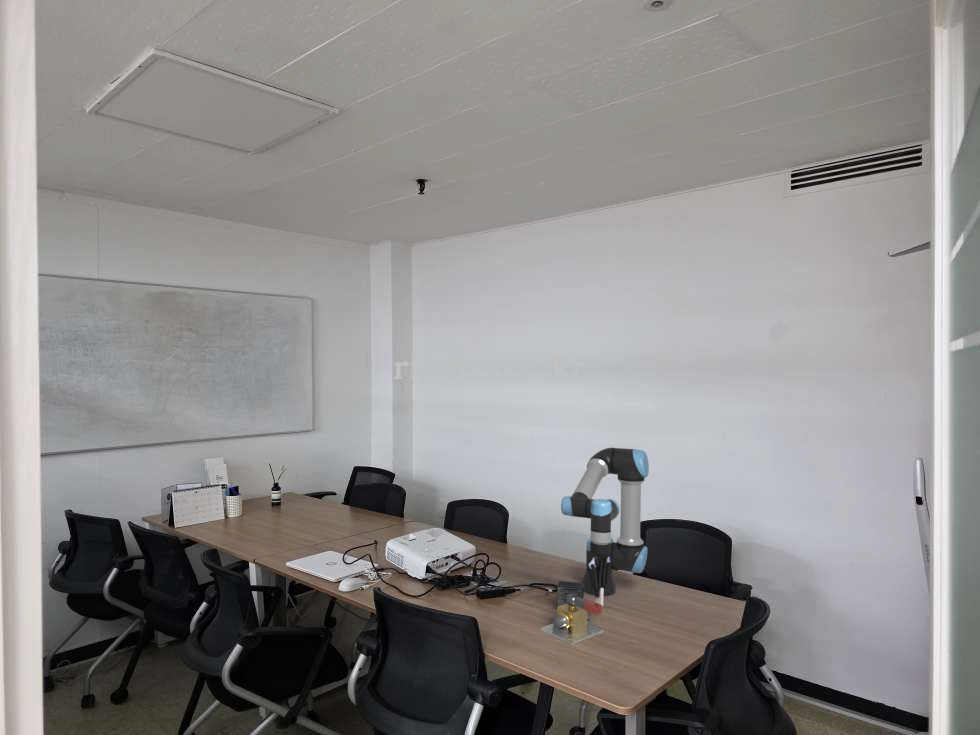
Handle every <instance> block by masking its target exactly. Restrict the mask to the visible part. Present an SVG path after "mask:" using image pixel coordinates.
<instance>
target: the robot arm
mask: <svg viewBox="0 0 980 735" xmlns="http://www.w3.org/2000/svg"><path fill="white" fill-rule="evenodd" d="M649 464H650V463H649V458H648V455H647V453H646V452H645V451H644V450H641V449H635V448H624V447H623V448H622V447H621V448H619V447H606V448H604V449H602V450H599V451H597V452H596V453H595V454H594V455H592V456H591V457H590V459H589V460H588V461H587V464H586V470H585V472H584V474H583V476H582V477H581V479H580V481H579V482H578V484H577V486H576V488H575V490H574V492H572V495H571V496H570V495H567V496H566V495H565V496H563V497H562V499H561V504H560V509H561V510H560V511H561V513H562V515H565V516H570V517H575V518H583V519H584V518H585V519H590V539H588V541H586V549H585V551H586V552H585V553H586V556H585V557H586V558H585V559H586V560H585V563H586V564H585V567H586V568H585V573H584V577H583V579H582V582H581V583H584V593H586V594H589V595H593V596H594V602H595V603H598V604H601V605H602V607H604V596H610V595H614V594H615V593H616V592H617V587H616V586H617V585H616V582H615V578H614V576H613V570H615V571H616V570H617V571H620V572H621V571H623V572H628V573H631V574H633V573H635V574H641V573H642V572H643V571H644V570H645V566H646V562H647V559H648V553H649V552H648V551H649V550H648V547H647V546H646V545H644V544H645V543H644V540H643V539H642V538H641V508H642V506H641V505H642V504H641V501H642V498H641V497H642V490H641V489H642V484H643V483H644V482H645V478H647V477H649V473H650V471H649V470H650V466H649ZM608 474H609V475H610V474H611V475H617V480H618V481H619V482H620V505H619V503H618V502H617V501H616V500H614V499H612V498H607V499H603V498H601V499H600V498H597V499H595V498H593V497H594V495H595V493H596V491H597V489H598V487H599V485H600V484H601V482H602V480H603V479H604V477H606V476H607V475H608ZM619 514H620V524H619V525H620V527H619V528H620V533H619V534H620V535H619V537H618V538H617V539H616V542H615V541H614V539H613V537H612V521H614V519H616V518H617V517H618V515H619Z"/></svg>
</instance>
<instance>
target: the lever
mask: <svg viewBox="0 0 980 735" xmlns="http://www.w3.org/2000/svg"><path fill="white" fill-rule="evenodd" d="M567 605H570V606H577V607H579V608H582V609H584V610H585V611H588V612H590V613H591V614H593V615H596V616H598V615H600V614H603V606H602V605H601V604H598V603H595V601H592V600H590V599H589V600H588V599H585V598H584V599H583V598H581V597H578V595H576V594H568V595H567Z"/></svg>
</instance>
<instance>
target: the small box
mask: <svg viewBox="0 0 980 735" xmlns="http://www.w3.org/2000/svg"><path fill="white" fill-rule="evenodd" d="M556 586H557V587H556V588H557V589H556V590H557V591H556V598H557V599H556V607H557V606H560V605H563V604H566V603H567V595H568V594H576V595H578V597H581V598H583V599H585V598H584V597H585V596H584V594H585V592H584V583H582V582H576V581H575V582H574V581H566V580H565V581H564V580H559V581H558V582H557V585H556Z"/></svg>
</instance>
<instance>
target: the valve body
mask: <svg viewBox="0 0 980 735" xmlns="http://www.w3.org/2000/svg"><path fill="white" fill-rule="evenodd" d="M556 612H557V613H556V617H554V618H553V619H552V623H549V624H547V625H545V626H542V627H540V628H539V631H541V632H544V633H546V634H548V635H549V636H552V637H554V638H556V639H559V640H560V641H563V642H565V643H567V644H569V645H572V646H573V645H575V644H577V643H580V642H581V641H584V640H587V639H589V638H592V637H594V636H596V635H599V634H601V633H604V631H605V630H604V628H601V627H598V626H596V625H593V624H592V620H591V614H592V613H590V612H588V611H585V610H584V609H582V608H579V607H577V606H570V605H567V603H566V604H563V605H560V606H557V605H556ZM589 618H590V619H589Z"/></svg>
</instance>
